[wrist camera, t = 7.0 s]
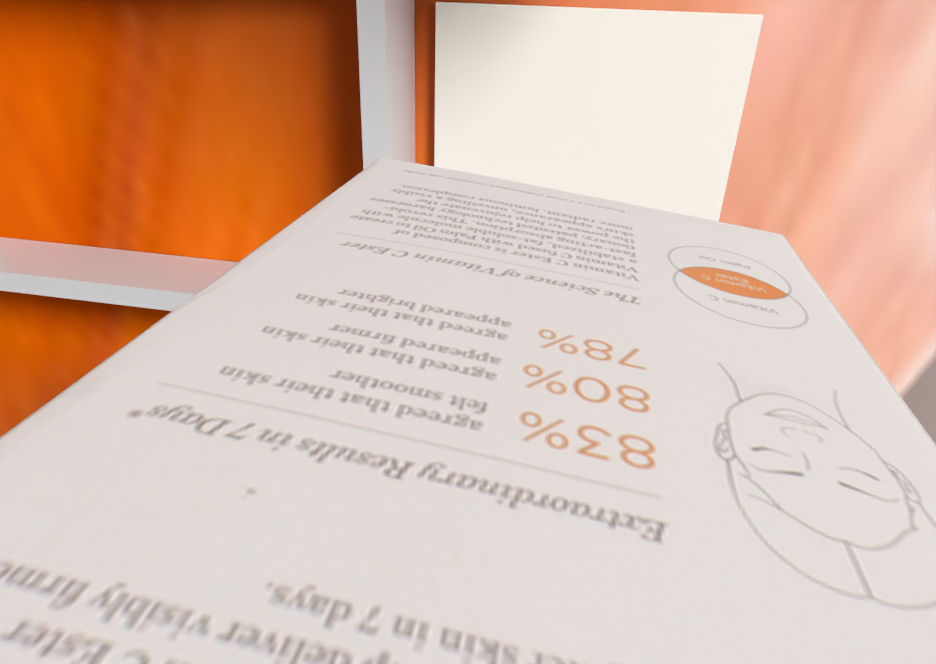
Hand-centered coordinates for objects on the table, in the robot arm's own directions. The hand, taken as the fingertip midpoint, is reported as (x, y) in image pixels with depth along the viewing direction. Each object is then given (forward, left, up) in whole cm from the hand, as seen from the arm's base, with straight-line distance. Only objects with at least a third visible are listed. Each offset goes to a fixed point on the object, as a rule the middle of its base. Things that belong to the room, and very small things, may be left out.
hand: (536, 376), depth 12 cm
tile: (0, 0, -17) cm, 17 cm away
